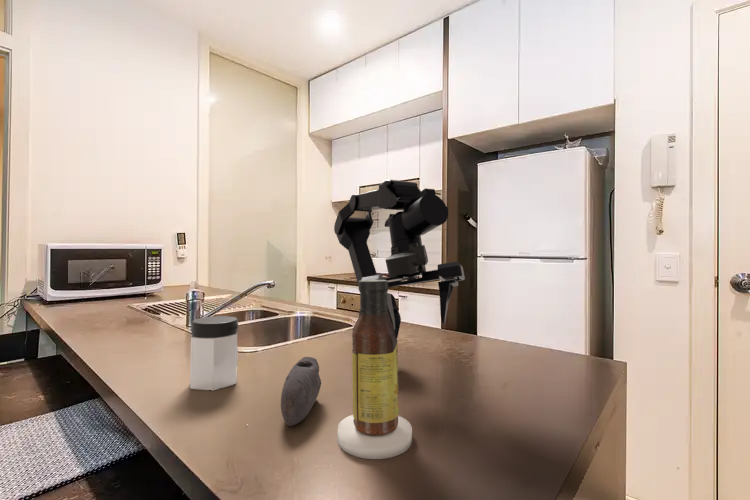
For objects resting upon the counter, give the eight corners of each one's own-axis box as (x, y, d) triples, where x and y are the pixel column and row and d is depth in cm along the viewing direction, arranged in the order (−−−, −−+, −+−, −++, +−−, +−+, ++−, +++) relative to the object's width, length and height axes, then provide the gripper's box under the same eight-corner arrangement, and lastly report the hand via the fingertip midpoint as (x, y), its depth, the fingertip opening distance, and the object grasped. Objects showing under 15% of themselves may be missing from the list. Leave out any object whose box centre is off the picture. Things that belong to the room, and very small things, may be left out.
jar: (237, 388, 68) (238, 322, 68) (187, 394, 65) (188, 325, 65) (237, 373, 76) (238, 314, 76) (193, 377, 73) (194, 316, 73)
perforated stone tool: (304, 436, 50) (305, 385, 50) (266, 435, 51) (267, 384, 51) (324, 394, 65) (325, 355, 65) (295, 393, 66) (295, 354, 66)
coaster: (323, 448, 47) (323, 436, 47) (357, 416, 57) (357, 406, 57) (397, 466, 43) (397, 454, 43) (420, 429, 53) (420, 418, 53)
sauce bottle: (408, 429, 50) (409, 280, 50) (371, 443, 46) (373, 282, 46) (377, 412, 55) (378, 277, 55) (342, 424, 51) (343, 279, 51)
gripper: (344, 243, 65) (353, 333, 61) (450, 221, 60) (467, 318, 56) (365, 254, 76) (374, 332, 72) (457, 237, 70) (472, 320, 66)
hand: (418, 326), depth 66 cm, fingers open, 9 cm apart
